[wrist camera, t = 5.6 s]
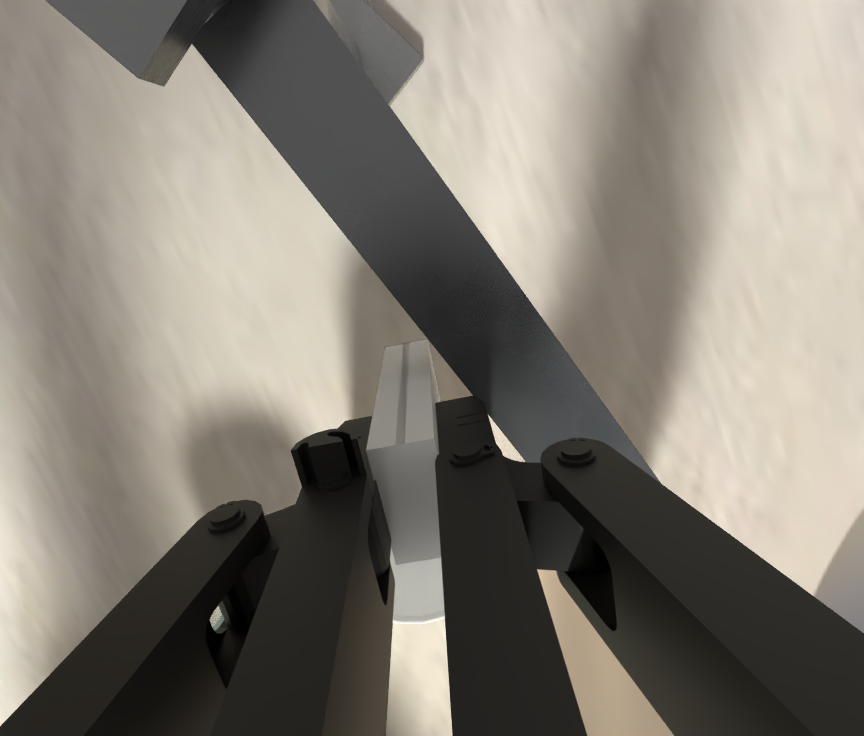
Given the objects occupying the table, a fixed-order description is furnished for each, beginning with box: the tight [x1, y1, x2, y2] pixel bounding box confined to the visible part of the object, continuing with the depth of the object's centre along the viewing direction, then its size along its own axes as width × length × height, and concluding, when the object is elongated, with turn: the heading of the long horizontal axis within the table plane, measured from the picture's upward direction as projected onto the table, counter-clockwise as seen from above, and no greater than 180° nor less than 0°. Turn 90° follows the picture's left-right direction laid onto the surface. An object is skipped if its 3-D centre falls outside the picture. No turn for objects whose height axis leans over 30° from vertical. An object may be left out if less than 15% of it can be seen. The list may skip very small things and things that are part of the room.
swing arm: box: [192, 0, 660, 483], centre depth 14 cm, size 19×3×2 cm, turn 37°
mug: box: [390, 548, 445, 624], centre depth 32 cm, size 8×12×10 cm
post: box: [46, 0, 424, 106], centre depth 19 cm, size 7×7×22 cm
